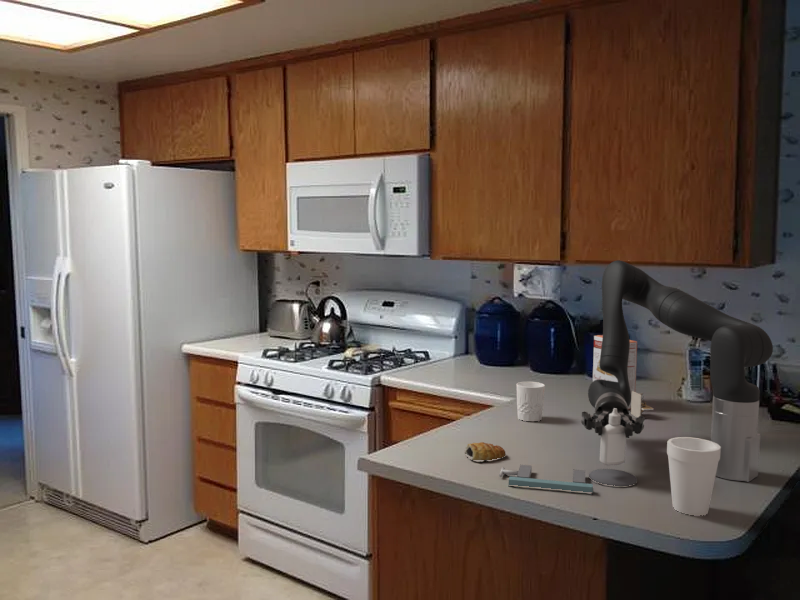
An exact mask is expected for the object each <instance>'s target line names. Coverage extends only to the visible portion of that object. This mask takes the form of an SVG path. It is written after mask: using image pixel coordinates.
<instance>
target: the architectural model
mask: <svg viewBox="0 0 800 600" xmlns="http://www.w3.org/2000/svg"><path fill="white" fill-rule="evenodd" d="M643 395H644V393H643V392H636V391H635V392H634V391H632V399H631V409H630V415H631V416H634V417H635V418H636V417H639V416H642V413H643V412H644V411H654V408H653V407H652V406H650V405H647V402H646V401H644V400H643Z"/></svg>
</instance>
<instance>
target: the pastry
mask: <svg viewBox="0 0 800 600" xmlns="http://www.w3.org/2000/svg"><path fill="white" fill-rule="evenodd" d="M465 454H467V455H468V456H470V457H471V459H472V460H492V459H497V458H502V457H504V456H505V455H507V454H506V451H505V449H504V448H503V447H502V446H500V445H497V444H496V445H494V444H493V443H488V442H487V443H486V442H483V441H481V442H473V443H467V445H466V447H465V450H464V455H465ZM505 457H506V456H505ZM471 459H470V460H471ZM502 459H503V458H502ZM472 460H471V461H472Z"/></svg>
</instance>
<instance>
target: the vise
mask: <svg viewBox="0 0 800 600" xmlns="http://www.w3.org/2000/svg"><path fill="white" fill-rule="evenodd" d="M532 467H533V466H532V464H531V465H529V464H520V465H519V467H518V470H511V469H506V468H505V467H503V466H502V467H501V468H500V472H499V475H498V476H499V477H500V478H501V477H503V475H505V474H507V476H509V478H508V486H509V485H518V486H529V487H541V488H551V489H562V490H571V491H583V492H592V493H593V494H594V491H593V489H594V488H593V487H594V485H593V483H586V470H585V469H577V468H576V469H575V468H574V469H573V470H572V471H573V472H572V481H562V480H551V479H541V478H531V476H532V471H533V470H532ZM515 475H517V476H515ZM530 475H531V476H530Z"/></svg>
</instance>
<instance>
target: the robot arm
mask: <svg viewBox="0 0 800 600" xmlns="http://www.w3.org/2000/svg"><path fill="white" fill-rule="evenodd" d="M601 298H602V299H601V300H602V301H601V302H602V304H601V305H602V320H603V321H602V335H603V339H602V347H601V355H600V363H599V366H600V369H601V370H602V371H604V372H607V373H609V374H612V375H614V376H615V377H616V378H617V380H618V382H614V381H608V380H607V381H606V380H600V379H598V380H595V381H593V380H592V382H591V383H590V384H589V387H588V390H587V396H588V402H589V403H590V405H591V406H592V408H594V413H593V415H591V413H588V411H582V412H581V424H582V425H583V427H584V428H585V429H586V430H588V431H591V430H593V429H594V433H595V434H598V436H600V437H601V436H602V428H603V427H605V426H606V425H608V424H609V414H611V413H612V412H613V409H614V408H617V412H618V414H620V415H621V421H620V425H622V426H624V427H625V436H626V439H630V437H633V435H634V434H636V435H640V434H641V433H642V431H643V430H644V428H645V416H643V415H641V416H639V417H635V418H633V415H632V414H630V412H629V409H628V406H629V405H630V403H631V391H630V386H629V380H628V358H629V349H630V340H631V339H630V336H629V335H630V334H629V331H628V327H627V323H626V320H625V317H624V311H623V310H624V309H623V300H624V301H627V302H631V303H632V304H635V305H637V306H638V305H639V306H640V307H643V308H645V309H647V310H648V311H650V312H651V314H652V316H653V317H654V318H655V319H656V320H657V321H659V322H660V323H662V324H663V325H665V326H666V327H669V328H670V329H672V330H673V331H675V332H677V333H680V334H683V335H686V336H689V337H692V338H696V339H701V340H704V341H709V342H710V349H709V350H710V352H709V359H710V360H709V363H710V364H709V365H710V366H709V367H710V368H709V370H710V374H709V375H710V383H711V387H712V390H713V391H712V392H713V393H712V407H711V408H712V411H711V425H710V426H711V427H710V441H712V442H714V443H717V444H718V445H719V446H720V447H721V452H720V460H719V462H718V466H717V471H716V476H715V477H718V478H721V479H725V480H730V481H742V482H747V483H749V482H750V481H752V480H754V479H755V478H757V477H758V476H759V468H760V467H759V466H760V449H761V447H760V446H761V433H760V432H758V427H759V425H758V424H759V412H760V411H759V410H760V409H759V408H760V397H761V396H760V395H761V391H760V388H759V387H758V386H757V385H756V384H754V383H751V382H748V381H747V379H746V372H745V368H751V367H753V368H754V367H757V366H761V365H762V364H765V363H766V362H768V361H769V360H770V358H771V357H772V356H773V352H774V348H773V342H772V340H771V338H770V336H769V334H768V333H767V332H766V331H765V330H764V329H763V328H762V327H759V326H758V325H755V324H754V323H753V324H752V323H750V322H748V321H744V320H741V319H740V318H736V317H733V316H732V315H728V314H726V313H725V312H722V311H721V310H719V309H717V308H715V307H713V306H712V305H709V303H706V302H705V301H702V300H701V299H699V298H697V297H695V296H693V295H691V294H689V293H687V292H685V291H683V290H681V289H679V288H676V287H672V286H666V285H664V284H662V283H660V282H659V281H657V280H656V279H654V278H653V277H652V276H650V275H649V274H648V273H646V272H645V271H643V270H642V269H640V268H638V267H636V266H635V265H633V264H630V263H628V262H625V261H623V260H613V261H612V262H611V263H609V264H608V265H607V266H606V267H605V269H604V271H603V274H602V278H601Z"/></svg>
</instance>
